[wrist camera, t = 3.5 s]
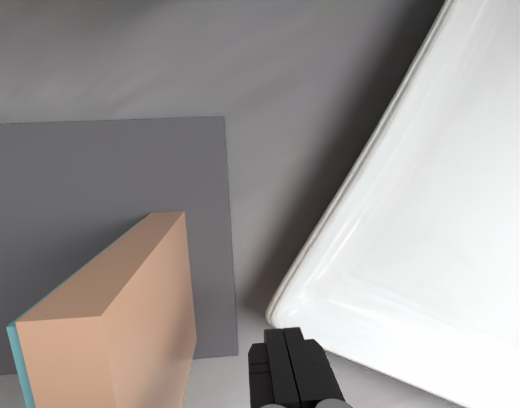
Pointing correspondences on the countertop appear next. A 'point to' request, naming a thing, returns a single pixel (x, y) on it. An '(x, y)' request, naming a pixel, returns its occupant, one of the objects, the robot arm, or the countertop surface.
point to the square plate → (428, 224)
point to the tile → (114, 326)
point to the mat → (114, 210)
